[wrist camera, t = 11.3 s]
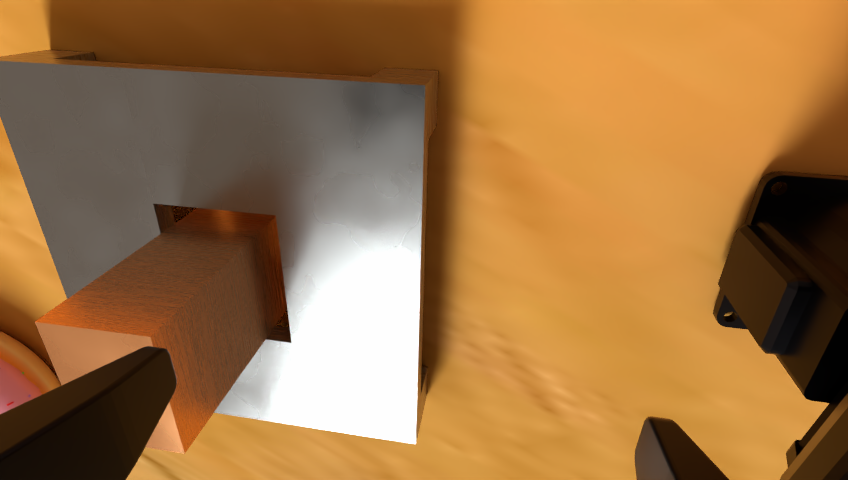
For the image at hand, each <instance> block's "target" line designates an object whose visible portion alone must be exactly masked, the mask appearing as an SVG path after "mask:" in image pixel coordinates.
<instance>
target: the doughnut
mask: <svg viewBox="0 0 848 480" xmlns="http://www.w3.org/2000/svg"><path fill="white" fill-rule="evenodd" d="M59 386H61V384H60V382H59V380H58V379H57V377H56V376H55V375H54V373H53V372H52V371H51V369H50V368H49V367H48V366H47V365H46V364H45V363H44V362H43V361H42V360H41V359H40V358H39V357H38V356H37V355H36V354H35V353H34V352H33V351H31V350H30V349H29V348H27V347H26V346H25V345H23V344H22V343H20V342H19V341H17V340H16V339H14V338H12V337H11V336H9V335H7V334H5V333H3V332H1V331H0V414H2V413H4V412H6V411H8V410H10V409H12V408H14V407H17V406H19V405H21V404H23V403H25V402H27V401H29V400H32V399H34V398H36V397H38V396H40V395H42V394H44V393H46V392H49V391H51V390H53V389H55V388H57V387H59Z"/></svg>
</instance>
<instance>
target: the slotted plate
mask: <svg viewBox="0 0 848 480" xmlns="http://www.w3.org/2000/svg"><path fill="white" fill-rule="evenodd" d="M438 76H439V71H436V70H418V69H399V68H384V69H382V70H381V71H379V72H378V73H376V74H374V75H373V76H371V77H370V76H352V75H334V74H316V73H298V72H280V71H263V70H245V69H227V68H209V67H191V66H174V65H156V64H138V63H120V62H102V61H96V59H95V56H94V52H81V51H62V50H45V51H38V52H30V53H23V54H16V55H9V56H2V57H0V117H1V120H2V122H3V125H4V128H5V130H6V133H7V136H8V139H9V141H10V144H11V147H12V150H13V152H14V155H15V158H16V160H17V163H18V166H19V169H20V171H21V174H22V177H23V179H24V182H25V185H26V188H27V190H28V193H29V196H30V198H31V201H32V204H33V207H34V209H35V212H36V215H37V217H38V220H39V223H40V226H41V228H42V231H43V234H44V236H45V239H46V242H47V245H48V247H49V250H50V253H51V255H52V258H53V261H54V264H55V266H56V269H57V272H58V274H59V277H60V280H61V283H62V285H63V288H64V291H65V294H66V296H67V299H68V298H70V297H71V296H72V295H74V294H75V293H77V292H78V291H80V290H81V289H82V288H84V287H85V286H87V285H88V284H90V283H91V282H92V281H94V280H95V279H97V278H98V277H100V276H101V275H102V274H104V273H105V272H107V271H108V270H110V269H111V268H112V267H114V266H115V265H117V264H118V263H120V262H121V261H122V260H124V259H125V258H127V257H128V256H130V255H131V254H132V253H134V252H135V251H137V250H138V249H140V248H141V247H143V246H144V245H145V244H147V243H148V242H150V241H151V240H153V239H154V238H155V237H157V236H158V235H160V234H161V233H163V232H164V231H165V230H167V229H168V228H170V227H171V226H173V225H174V224H175V223H176V222H175V217H174V213H173V209H172V205H174V206H184V207H194V208H204V209H215V210H225V211H235V212H245V213H256V214H266V215H276V221H277V229H278V237H279V245H280V254H281V262H282V270H283V278H284V286H285V294H286V302H287V310H288V318H289V327H283V326H275V327H274V328H273V330H272V331H271V333H270V334H269V335H268V337H267V338H266V340H265V341H264V342H263V344H262V345H261V347H260V348H259V349H258V351H257V352H256V354H255V355H254V356H253V358H252V359H251V361H250V362H249V364H248V365H247V366H246V368H245V369H244V371H243V372H242V373H241V375H240V376H239V378H238V379H237V380H236V382H235V383H234V385H233V386H232V388H231V389H230V390H229V392H228V393H227V395H226V396H225V397H224V399H223V400H222V402H221V403H220V404H219V406H218V407H217V409H216V410H215V412H214V413H220V414H226V415H233V416H239V417H245V418H252V419H258V420H265V421H271V422H277V423H284V424H290V425H296V426H303V427H309V428H316V429H322V430H328V431H335V432H341V433H347V434H354V435H360V436H367V437H373V438H379V439H386V440H392V441H398V442H405V443H411V444H416V441H417V437H418V432H419V428H420V423H421V419H422V414H423V410H424V405H425V401H426V393H427V367H426V366H421V365H422V333H423V300H424V267H425V235H426V202H427V169H428V139H429V138H430V136H431V134H432V133H433V131H434V129H435V127H436V126H437V103H438Z"/></svg>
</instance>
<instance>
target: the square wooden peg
mask: <svg viewBox="0 0 848 480" xmlns="http://www.w3.org/2000/svg"><path fill="white" fill-rule="evenodd" d="M286 310H287V302H286V294H285V286H284V278H283V270H282V262H281V254H280V245H279V237H278V229H277V221H276V215H266V214H256V213H245V212H235V211H225V210H215V209H204V208H197V209H195V210H194V211H193V212H191V213H190V214H188V215H187V216H185V217H184V218H183V219H181V220H180V221H178V222H177V223H175V224H174V225H173V226H171V227H170V228H168V229H167V230H165V231H164V232H163V233H161V234H160V235H158V236H157V237H155V238H154V239H153V240H151V241H150V242H148V243H147V244H145V245H144V246H143V247H141V248H140V249H138V250H137V251H135V252H134V253H132V254H131V255H130V256H128V257H127V258H125V259H124V260H122V261H121V262H120V263H118V264H117V265H115V266H114V267H112V268H111V269H110V270H108V271H107V272H105V273H104V274H102V275H101V276H100V277H98V278H97V279H95V280H94V281H92V282H91V283H90V284H88V285H87V286H85V287H84V288H82V289H81V290H80V291H78V292H77V293H75V294H74V295H72V296H71V297H70V298H68V299H67V300H65V301H64V302H62V303H61V304H60V305H58V306H57V307H55V308H54V309H52V310H51V311H49V312H48V313H47V314H45V315H44V316H42V317H41V318H39V319H38V320H37V321H35V324H36V326H37V329H38V331H39V333H40V336H41V338H42V340H43V343H44V345H45V348H46V350H47V352H48V355H49V357H50V359H51V362H52V364H53V366H54V369H55V371H56V374H57V376H58V378H59V381H60V383H61V385H64V384H66V383H68V382H70V381H72V380H74V379H76V378H78V377H81V376H83V375H85V374H87V373H89V372H91V371H93V370H96V369H98V368H100V367H102V366H104V365H106V364H108V363H110V362H113V361H115V360H117V359H119V358H121V357H123V356H125V355H128V354H130V353H132V352H134V351H136V350H138V349H140V348H143V347H146V346H152V347H159V348H165V349H167V350H168V352H169V353H170V356H171V360H172V363H173V367H174V371H175V374H176V378H177V385H176V389H175V392H174V394H173V396H172V398H171V400H170V402H169V404H168V405H167V407H166V409H165V411H164V413H163V415H162V417H161V419H160V420H159V422H158V424H157V426H156V428H155V430H154V432H153V433H152V435H151V437H150V439H149V441H148V443H147V445H146V447H148V448H154V449H160V450H166V451H172V452H178V453H184V454H185V452H186V451H187V450H188V448H189V447H190V445H191V444H192V443H193V441H194V440H195V438H196V437H197V435H198V434H199V433H200V431H201V430H202V428H203V427H204V426H205V424H206V423H207V421H208V420H209V419H210V417H211V416H212V414H213V413H214V412H215V410H216V409H217V407H218V406H219V404H220V403H221V402H222V400H223V399H224V397H225V396H226V395H227V393H228V392H229V390H230V389H231V388H232V386H233V385H234V383H235V382H236V380H237V379H238V378H239V376H240V375H241V373H242V372H243V371H244V369H245V368H246V366H247V365H248V364H249V362H250V361H251V359H252V358H253V356H254V355H255V354H256V352H257V351H258V349H259V348H260V347H261V345H262V344H263V342H264V341H265V340H266V338H267V337H268V335H269V334H270V333H271V331H272V330H273V328H274V327H275V325H276V324H277V323H278V321H279V320H280V318H281V317H282V316H283V314H284V313H285V311H286Z"/></svg>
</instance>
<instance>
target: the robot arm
mask: <svg viewBox="0 0 848 480" xmlns="http://www.w3.org/2000/svg"><path fill="white" fill-rule="evenodd" d="M777 182H782V186H781V187H780V189H778V190H776V191H772V192H771V188H772V186H773V185H774V184H776V183H777ZM718 285H719V287H720V288H721V290H720V293H719V296H718V299H717V302H716V304H715V307H714V310H713V314H714V316H715V318H716V320H717V322H718V323H719V324H720V325H722V326H725V327H732V328H740V329H748V330H749V331H750V333H751V334H752V336H753V337H754V339H755V340H756V342H757V343H758V345H759V346H760V348H761V349H762V350H763V351H764V352H765V353H767V354H775V355H776V356H777V358H778V359H779V361H780V362H781V364H782V365H783V366H784V368H785V369H786V371H787V372H788V374H789V375H790V377H791V378H792V379H793V381H794V382H795V384H796V385H797V387H798V388H799V389H800V391H801V392H802V394H803V395H804V396H805V398H806V399H809V400H812V401H819V402H827V403H830V404H829V405H828V406H827V407H826V409H825V410H824V411H823V412H822V414H821V415H820V416H819V418H818V419H817V420H816V421H815V423H814V424H813V425H812V427H811V428H810V429H809V430H808V432H807V433H806V434H805V435H804V437H803V438H802V439H801V440H796V441H795V442H794V443H793V444H792V445H791V447H790V448H789V449H788V451H787V452H786V457H787V464H788V469H787V470H786V471H785V472H784V474H783V475H782V476H781V479H780V480H848V176H834V175H821V174H807V173H794V172H780V171H778V172H772V173H769V174H767V175H766V176H764V177H763V178H762V179H761V181H760V183H759V185H758V188H757V190H756V193H755V196H754V199H753V201H752V204H751V207H750V210H749V213H748V215H747V218H746V221H745V224H744V225H743V226H741V227H740V228H739V229H738V230H737V231H736V234H735V237H734V240H733V243H732V246H731V248H730V251H729V254H728V257H727V260H726V263H725V265H724V268H723V271H722V274H721V277H720V279H719V283H718ZM727 312H733V313H732V314H731V315H729V316H724V315H725V313H727ZM176 385H177V378H176V374H175V371H174V367H173V363H172V360H171V356H170V353H169V352H168V350H167V349H165V348H159V347H152V346H146V347H143V348H140V349H138V350H136V351H134V352H132V353H130V354H128V355H125V356H123V357H121V358H119V359H117V360H115V361H113V362H110V363H108V364H106V365H104V366H102V367H100V368H98V369H96V370H93V371H91V372H89V373H87V374H85V375H83V376H81V377H78V378H76V379H74V380H72V381H70V382H68V383H66V384H64V385H61V386H59V387H57V388H55V389H53V390H51V391H49V392H46V393H44V394H42V395H40V396H38V397H36V398H34V399H32V400H29V401H27V402H25V403H23V404H21V405H19V406H17V407H14V408H12V409H10V410H8V411H6V412H4V413H2V414H0V480H126V478H127V477H128V475H129V474H130V472H131V471H132V469H133V467H134V466H135V464H136V463H137V461H138V459H139V457H140V456H141V454H142V452H143V450H144V448H145V447H146V445H147V443H148V441H149V439H150V437H151V435H152V433H153V432H154V430H155V428H156V426H157V424H158V422H159V420H160V419H161V417H162V415H163V413H164V411H165V409H166V407H167V405H168V404H169V402H170V400H171V398H172V396H173V394H174V392H175V389H176ZM635 468H636V476H637V480H729V479H728V478H727V477H726V476H725V475H724V474H723V473H722V472H721V470H720V469H719V468H718V467H717V466H716V465H715V464H714V463H713V462H712V461H711V460H710V459H709V458H708V457H707V456H706V454H705V453H704V452H703V451H702V450H701V449H700V448H699V447H698V446H697V445H696V444H695V443H694V442H693V441H692V439H691V438H690V437H689V436H688V435H687V434H686V433H685V432H684V431H683V430H682V429H681V428H680V427H679V426H678V424H677V423H675V422H674V421H673V420H671V419H665V418H658V417H648V418H646V420H645V421H644V424H643V427H642V430H641V433H640V437H639V440H638V443H637V446H636V449H635Z"/></svg>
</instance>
